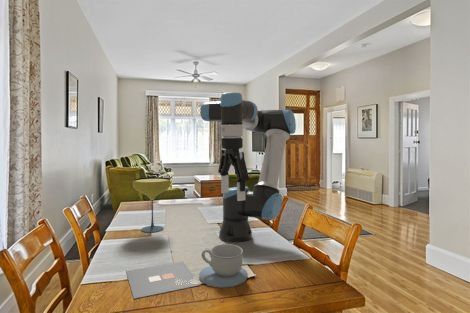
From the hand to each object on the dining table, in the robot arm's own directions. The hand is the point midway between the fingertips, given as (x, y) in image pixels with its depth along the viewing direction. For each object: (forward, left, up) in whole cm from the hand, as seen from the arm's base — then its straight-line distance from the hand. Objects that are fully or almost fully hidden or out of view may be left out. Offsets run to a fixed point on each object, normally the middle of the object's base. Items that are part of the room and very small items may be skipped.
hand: (232, 196), depth 112 cm
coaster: (+8, -7, -25) cm, 27 cm away
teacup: (+6, -7, -24) cm, 26 cm away
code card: (+1, -26, -25) cm, 36 cm away
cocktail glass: (-55, -19, -25) cm, 63 cm away
